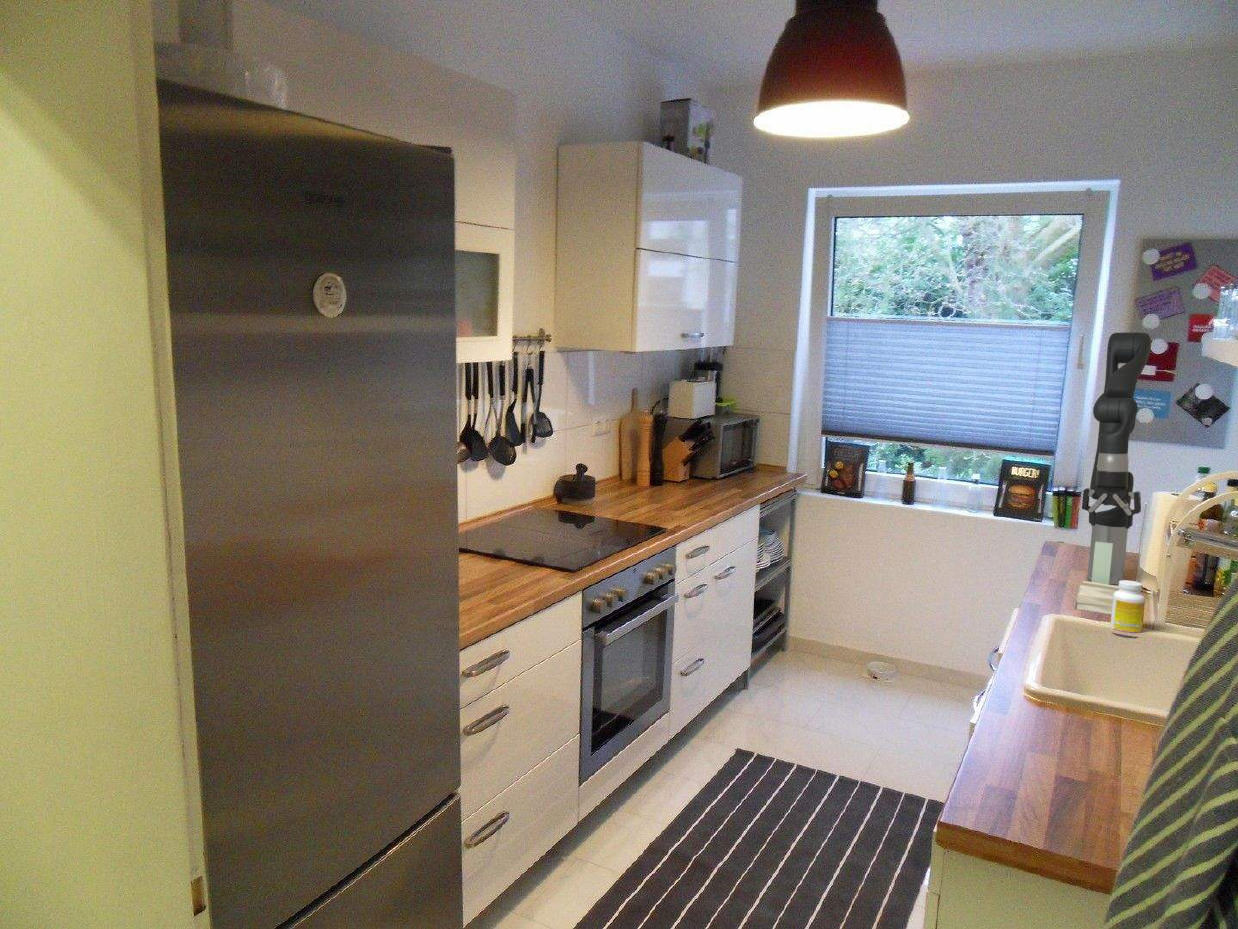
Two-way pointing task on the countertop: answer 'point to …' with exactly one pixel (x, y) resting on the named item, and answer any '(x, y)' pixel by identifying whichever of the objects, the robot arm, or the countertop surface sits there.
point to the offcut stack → (1096, 597)
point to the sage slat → (1102, 562)
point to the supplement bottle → (1128, 609)
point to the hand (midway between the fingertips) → (1110, 526)
